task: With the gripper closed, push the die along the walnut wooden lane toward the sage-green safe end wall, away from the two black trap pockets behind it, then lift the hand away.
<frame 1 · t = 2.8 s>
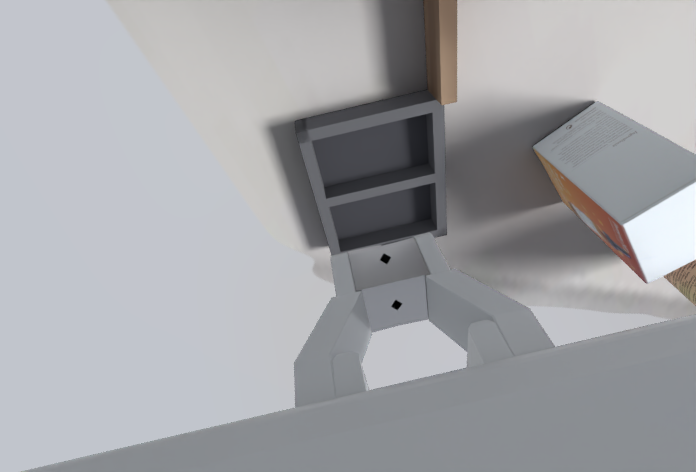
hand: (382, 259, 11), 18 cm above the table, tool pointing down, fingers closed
small box: (576, 154, 32), on the table
fruit juice: (673, 215, 38), on the table
trap pockets: (376, 177, 30), on the table
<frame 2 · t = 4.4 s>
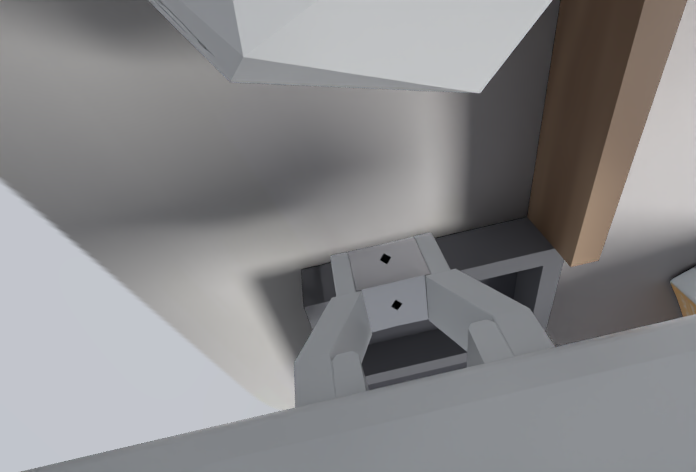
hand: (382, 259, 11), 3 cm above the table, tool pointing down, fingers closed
trap pockets: (426, 329, 19), on the table
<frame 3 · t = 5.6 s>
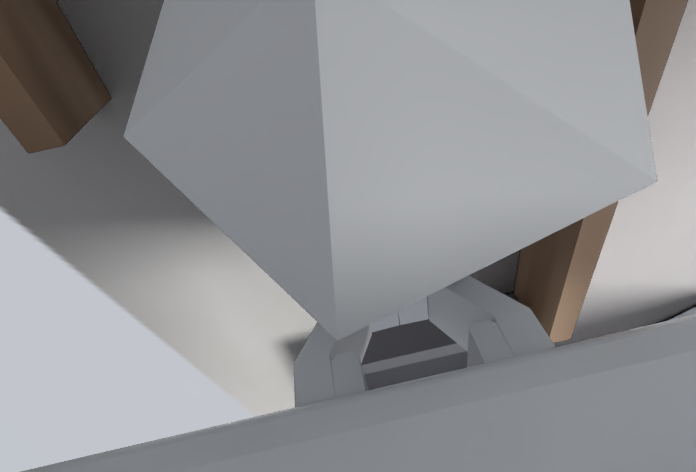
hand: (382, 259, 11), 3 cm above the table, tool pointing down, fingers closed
trap pockets: (428, 376, 22), on the table
die: (351, 51, 11), on the table, touching gripper
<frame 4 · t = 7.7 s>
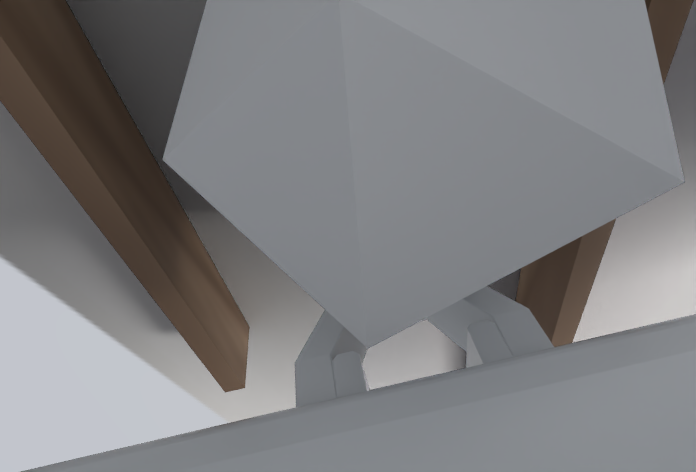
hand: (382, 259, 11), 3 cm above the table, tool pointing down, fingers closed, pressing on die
lane walls: (374, 248, 16), on the table
die: (371, 67, 11), on the table, touching gripper
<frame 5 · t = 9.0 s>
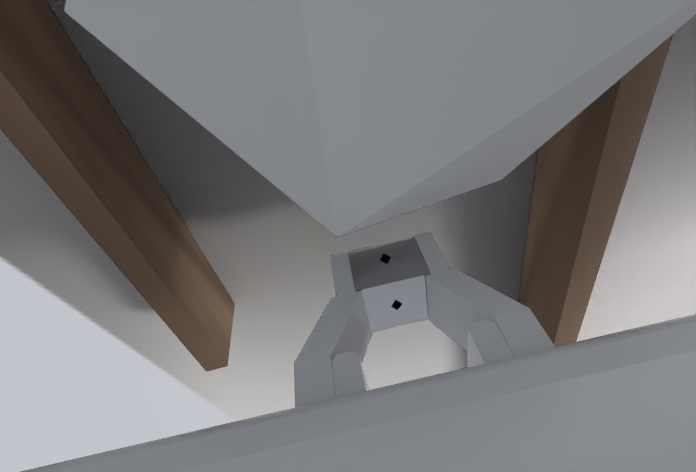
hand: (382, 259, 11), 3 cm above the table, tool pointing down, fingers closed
lane walls: (365, 212, 14), on the table
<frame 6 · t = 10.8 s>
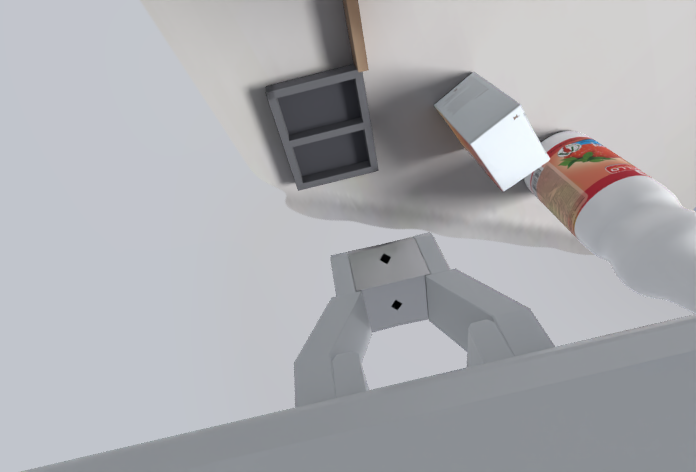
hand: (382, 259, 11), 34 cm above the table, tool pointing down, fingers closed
small box: (468, 112, 45), on the table
fruit juice: (554, 161, 51), on the table
trap pockets: (325, 127, 44), on the table
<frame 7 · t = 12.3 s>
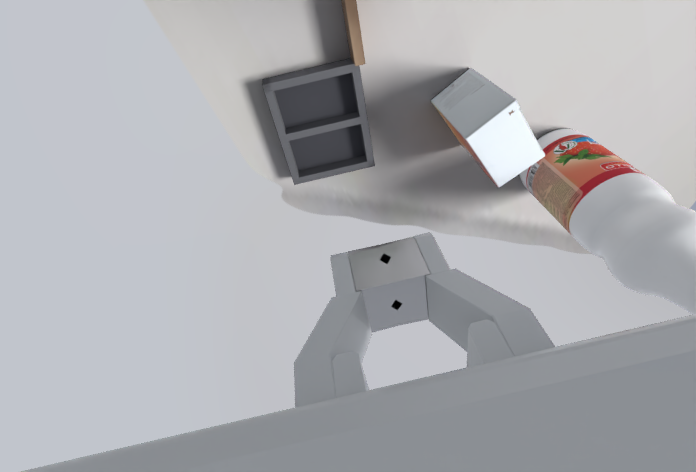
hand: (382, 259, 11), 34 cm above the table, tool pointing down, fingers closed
small box: (465, 108, 45), on the table
fruit juice: (550, 159, 52), on the table
trap pockets: (322, 122, 44), on the table
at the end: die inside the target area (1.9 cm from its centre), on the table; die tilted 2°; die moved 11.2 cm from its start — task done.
